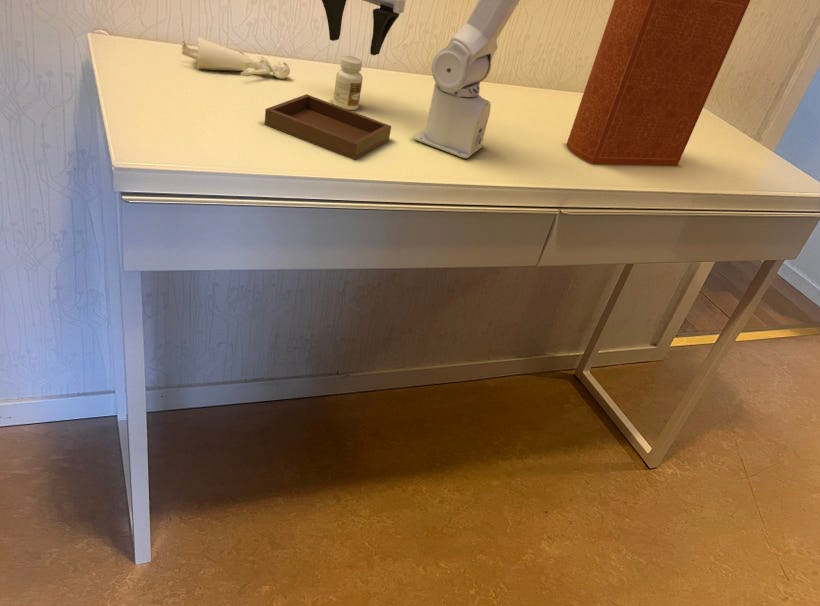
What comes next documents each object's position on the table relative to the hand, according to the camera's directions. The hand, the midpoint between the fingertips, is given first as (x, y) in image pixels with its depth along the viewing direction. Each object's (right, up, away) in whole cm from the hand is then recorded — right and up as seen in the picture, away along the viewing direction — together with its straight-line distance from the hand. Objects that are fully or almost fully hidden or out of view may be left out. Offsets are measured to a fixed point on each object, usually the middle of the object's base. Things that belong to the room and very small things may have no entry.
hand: (354, 46), depth 116 cm
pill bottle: (-2, -8, +4) cm, 10 cm away
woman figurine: (-21, -2, +6) cm, 22 cm away
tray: (-3, -17, -7) cm, 18 cm away
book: (+49, -13, +17) cm, 53 cm away
